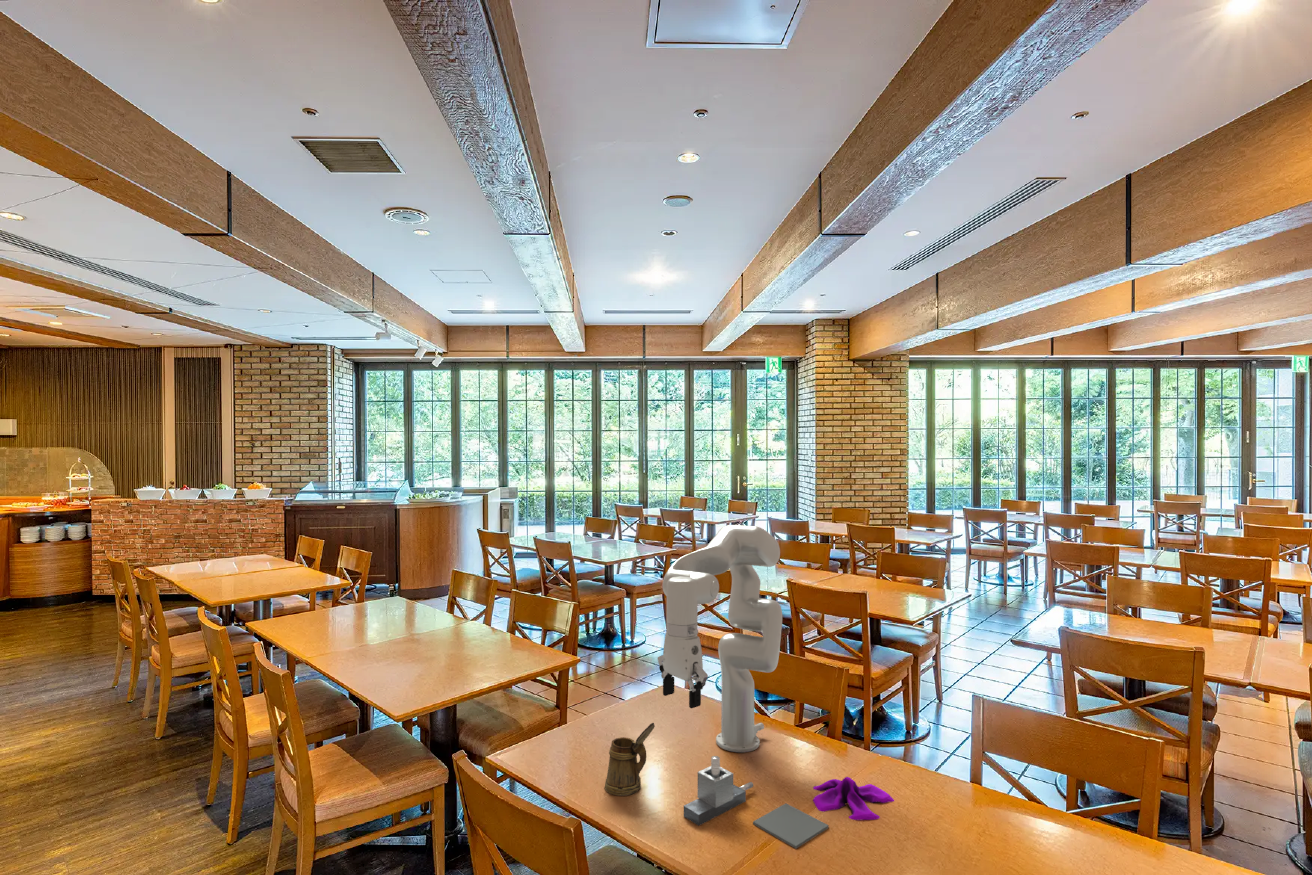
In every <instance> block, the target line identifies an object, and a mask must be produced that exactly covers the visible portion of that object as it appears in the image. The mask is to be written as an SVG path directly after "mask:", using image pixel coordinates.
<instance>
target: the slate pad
mask: <svg viewBox="0 0 1312 875" xmlns="http://www.w3.org/2000/svg"><path fill="white" fill-rule="evenodd" d="M752 825H754V826H755V827H757V828H759V829H760V830H763V831H764V832H765V833H767V834H769V835H771V836H772V837H775V838H776V839H778V840H779V841H781V842H783V843H785V844H787V845H788V846H790V847H792V848H793V849H796V850H797V849H799V847H802V846H803V845H805V844H806V843H807V842H810V840H812V839H814V838H815V837H818V835H820V834H822V833H823V832H824V831H826V830H828V829H829V828H830V827H829V826H830V825H829V824H827V823H825V822H823V821H822V820H819V819H818V818H816V817H814V816H811V815H810V814H808V813H806V812H804V811H802V810H800V809H798V808H796V807H794V806H792V805H790V804H788V803H783V804H782V805H780V806H778V807H776V808H774V809H773V810H772V811H770V812H768V813H765V814H764V815H762V816H761V817H759V818H757V819H755V820H754V821H752Z"/></svg>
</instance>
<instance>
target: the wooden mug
mask: <svg viewBox="0 0 1312 875" xmlns="http://www.w3.org/2000/svg"><path fill="white" fill-rule="evenodd" d="M655 727H656V726H655V723H654V722H652V723H650V724H649V725H648V726H647V727H646V728H645V729H644V730H643V731H642V732H641V733H640V734H639V736H638V737H637V738H636V740H635V739H633V738H629V737H625V736H624V737H617V738H614V739H613V740H612V741H611V745H610V747H609V750H608V754H609V759H608V768H607V774H606V779H605V784H604V790H605V791H606V793H608V794H609V795H613V796H619V797H620V796H621V797H625V796H631V795H633V794H635V793H637V792H638V791H639V790H640V789H641V787H642V780H641V779H642V778H641V776H640V773H641V771H642V770H643V768H644V766H645V765H646V762H647V750H646V746H645V745H644V742H645V740H646V739H647V738H648V737H649V736H650V735H651V733H652V731H653V730H654V729H655ZM637 756H639V761H638V757H637Z"/></svg>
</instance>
